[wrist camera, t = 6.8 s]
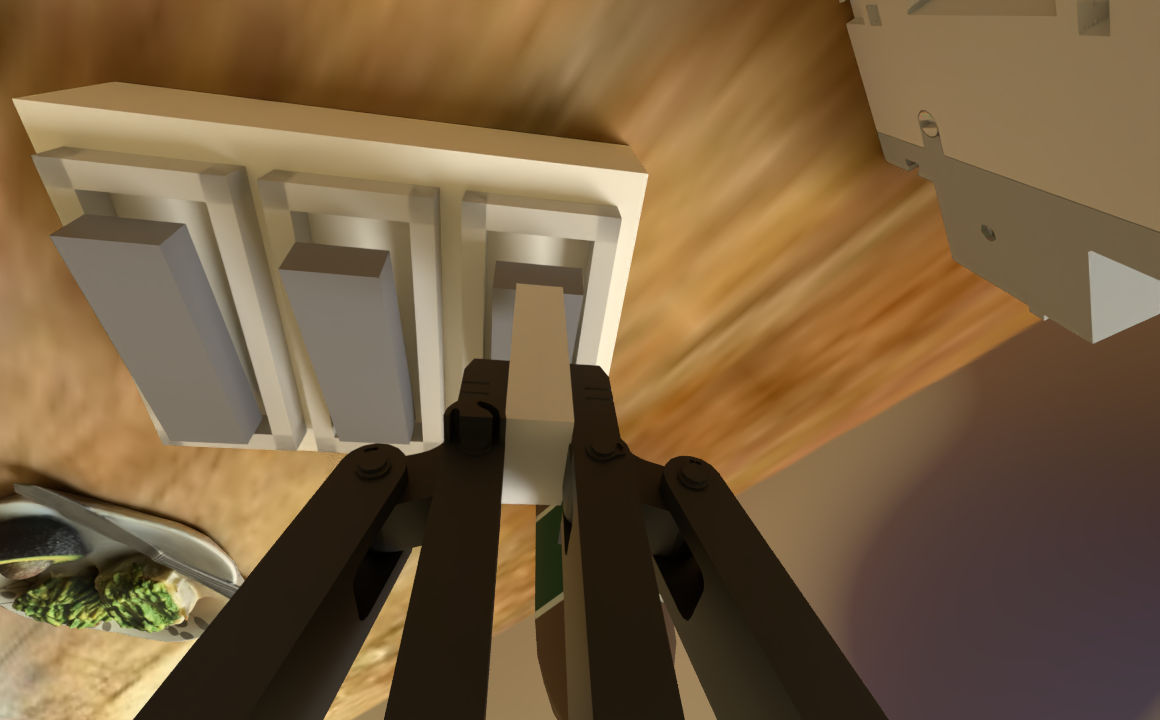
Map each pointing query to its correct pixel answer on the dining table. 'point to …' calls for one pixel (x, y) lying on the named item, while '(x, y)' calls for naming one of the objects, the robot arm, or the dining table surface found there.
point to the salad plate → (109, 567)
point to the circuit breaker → (1030, 142)
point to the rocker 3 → (534, 275)
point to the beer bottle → (558, 608)
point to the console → (346, 225)
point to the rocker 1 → (163, 323)
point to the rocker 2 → (353, 338)
